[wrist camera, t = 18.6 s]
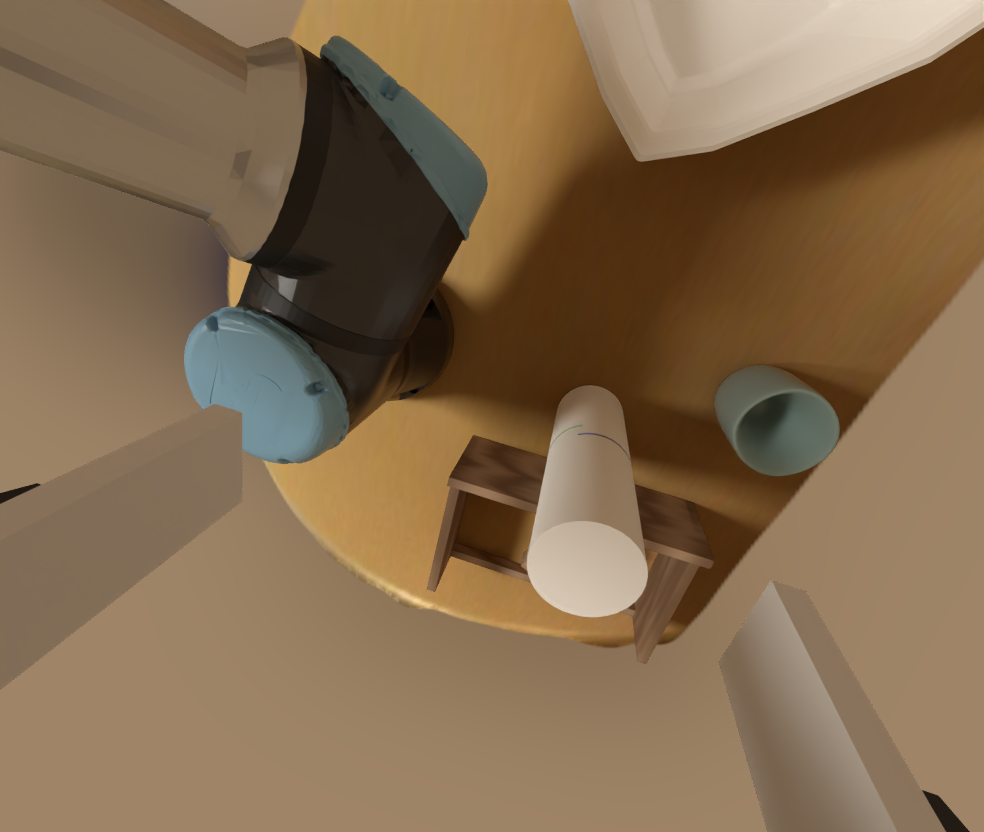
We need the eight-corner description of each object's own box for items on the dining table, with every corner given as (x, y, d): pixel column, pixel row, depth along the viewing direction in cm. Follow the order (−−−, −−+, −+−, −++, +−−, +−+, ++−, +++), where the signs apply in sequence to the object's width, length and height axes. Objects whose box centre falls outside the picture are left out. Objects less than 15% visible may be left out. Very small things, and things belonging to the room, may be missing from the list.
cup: (691, 383, 47) (714, 421, 38) (767, 340, 44) (813, 369, 35) (729, 442, 48) (761, 492, 39) (806, 404, 45) (859, 448, 36)
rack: (446, 546, 61) (421, 601, 52) (473, 435, 54) (449, 477, 45) (639, 610, 59) (647, 680, 50) (693, 502, 52) (714, 561, 43)
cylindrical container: (621, 447, 51) (643, 623, 28) (556, 444, 52) (528, 610, 30) (625, 385, 48) (652, 525, 26) (556, 385, 50) (525, 516, 27)
